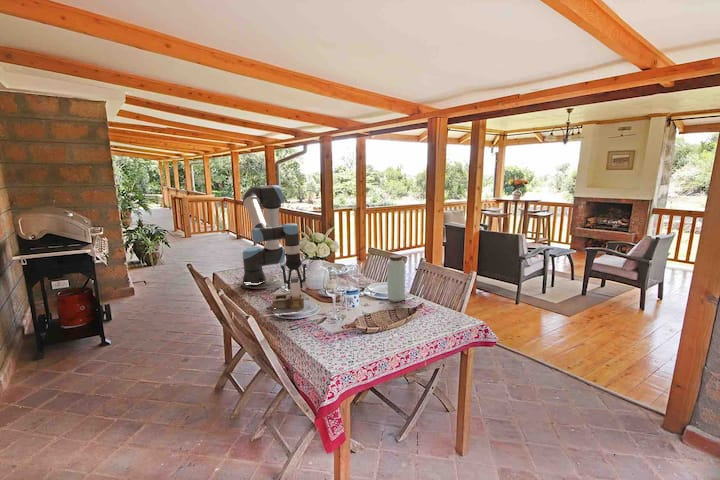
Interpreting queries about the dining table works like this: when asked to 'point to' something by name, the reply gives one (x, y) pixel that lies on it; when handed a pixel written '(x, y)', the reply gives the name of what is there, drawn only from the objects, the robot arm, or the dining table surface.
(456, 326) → the dining table surface
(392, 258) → the water bottle
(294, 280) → the plug
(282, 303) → the socket block
